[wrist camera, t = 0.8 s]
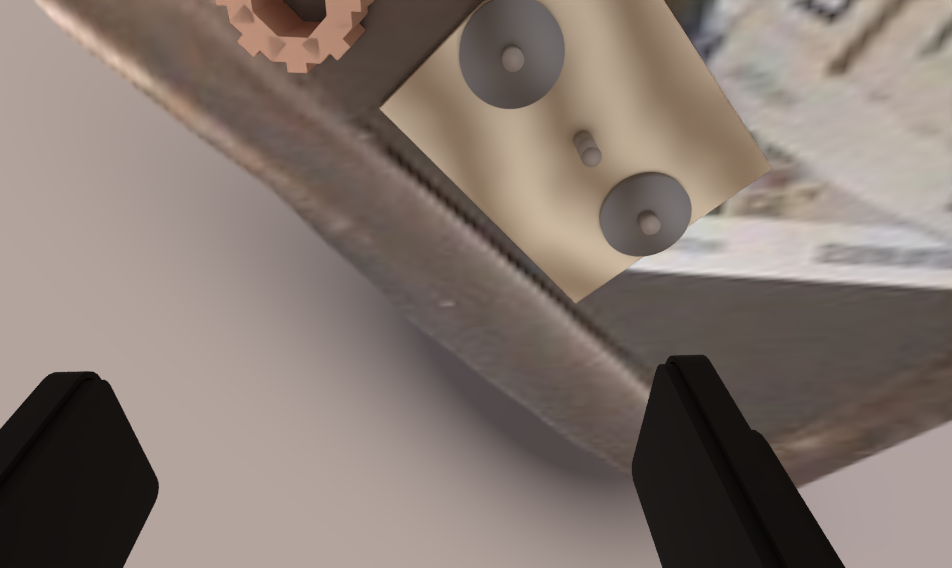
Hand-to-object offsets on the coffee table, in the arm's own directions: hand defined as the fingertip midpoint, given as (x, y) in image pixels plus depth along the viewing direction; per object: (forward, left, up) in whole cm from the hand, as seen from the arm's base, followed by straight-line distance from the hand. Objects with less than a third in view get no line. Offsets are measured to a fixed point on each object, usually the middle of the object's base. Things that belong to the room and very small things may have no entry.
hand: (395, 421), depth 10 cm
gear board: (-3, +9, -28) cm, 30 cm away
